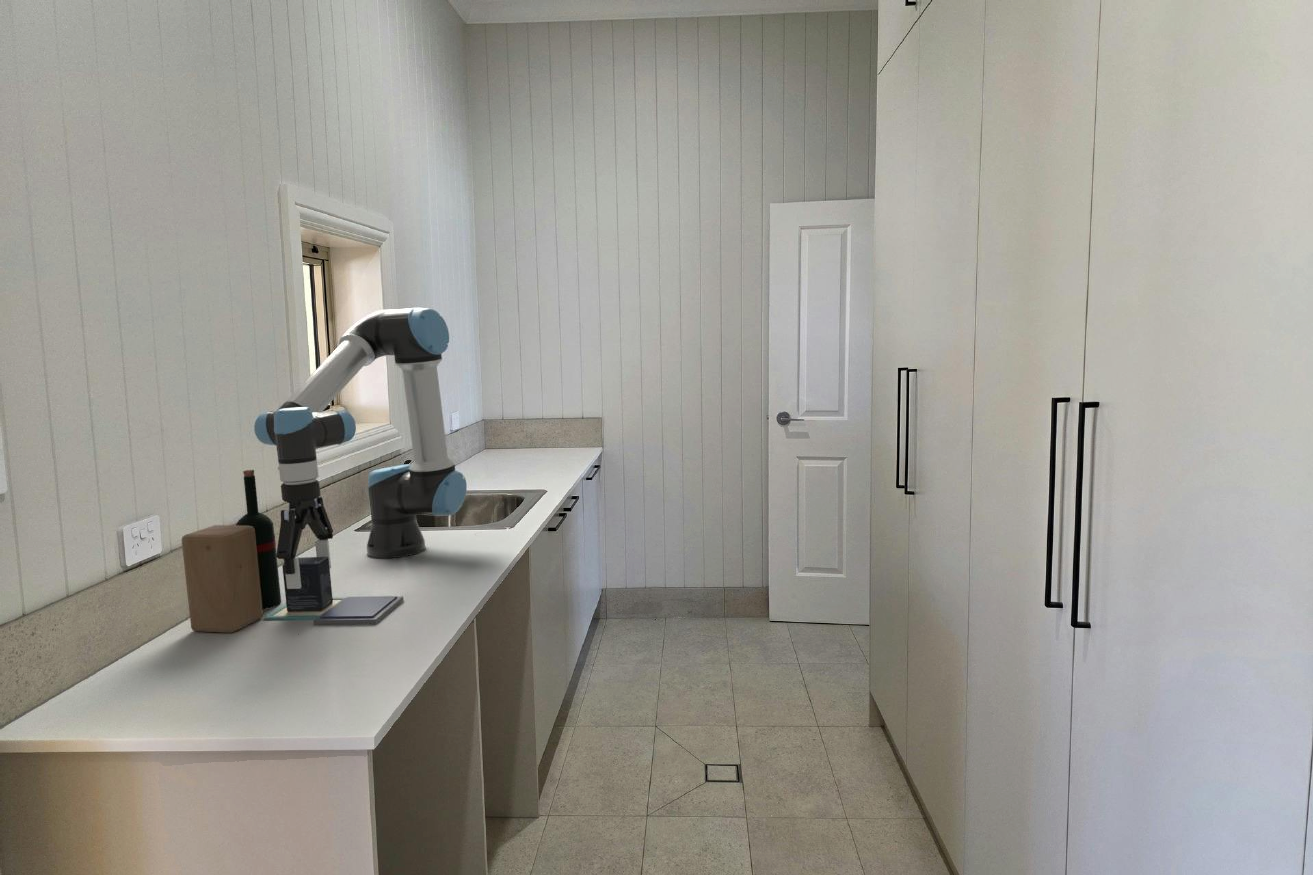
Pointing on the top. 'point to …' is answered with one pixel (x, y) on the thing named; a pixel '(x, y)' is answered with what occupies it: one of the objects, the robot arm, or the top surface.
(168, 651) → the top surface
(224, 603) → the wooden block
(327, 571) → the box
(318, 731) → the top surface
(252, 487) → the wine bottle
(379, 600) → the ink pad
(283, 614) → the print frame
